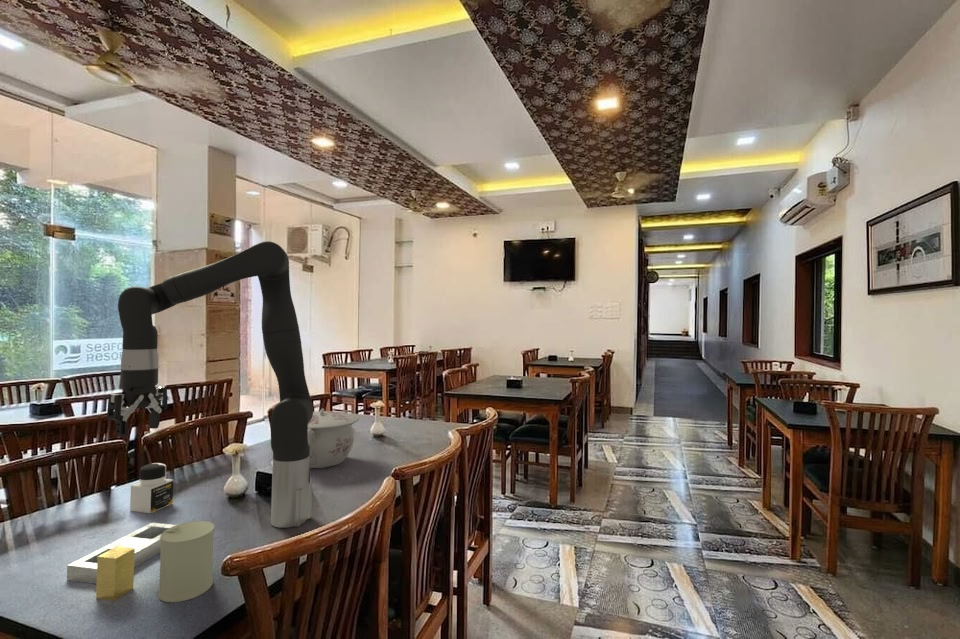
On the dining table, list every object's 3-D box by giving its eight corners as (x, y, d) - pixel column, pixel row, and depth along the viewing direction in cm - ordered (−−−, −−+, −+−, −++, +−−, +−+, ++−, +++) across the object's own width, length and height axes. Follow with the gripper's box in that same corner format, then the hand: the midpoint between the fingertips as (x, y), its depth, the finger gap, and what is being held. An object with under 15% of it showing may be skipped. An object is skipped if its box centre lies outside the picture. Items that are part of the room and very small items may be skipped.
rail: (183, 538, 110) (183, 525, 110) (104, 584, 91) (105, 569, 91) (151, 534, 112) (151, 522, 112) (66, 580, 92) (67, 565, 92)
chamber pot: (329, 448, 190) (330, 399, 190) (373, 462, 174) (374, 408, 174) (264, 464, 167) (266, 408, 167) (308, 481, 151) (310, 419, 151)
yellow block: (133, 588, 90) (134, 548, 90) (114, 600, 86) (115, 558, 86) (115, 586, 90) (117, 546, 90) (96, 598, 86) (97, 556, 86)
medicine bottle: (150, 514, 123) (152, 470, 123) (129, 511, 125) (130, 467, 125) (173, 503, 130) (174, 462, 130) (152, 501, 132) (154, 460, 132)
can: (175, 575, 94) (177, 518, 95) (221, 575, 95) (223, 518, 95) (146, 603, 85) (148, 539, 85) (197, 602, 86) (199, 539, 86)
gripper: (125, 370, 105) (124, 440, 105) (176, 365, 119) (175, 426, 119) (98, 369, 106) (97, 438, 106) (152, 364, 120) (151, 424, 120)
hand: (138, 432), depth 112 cm, fingers open, 8 cm apart
